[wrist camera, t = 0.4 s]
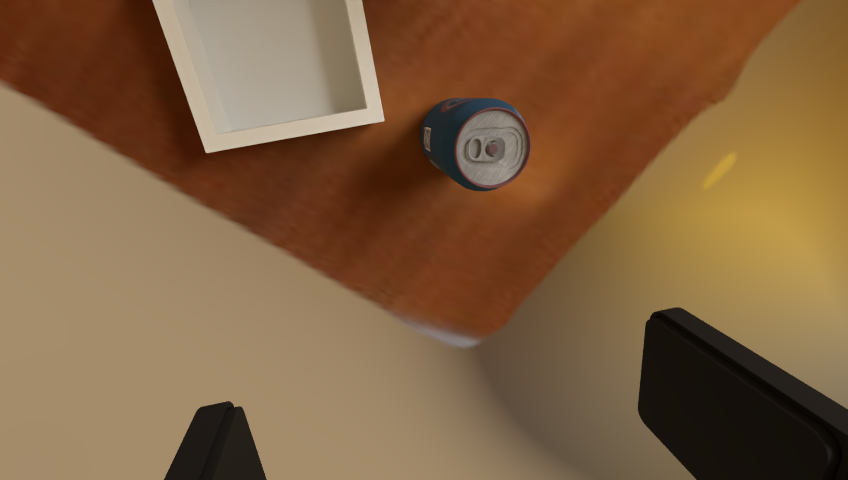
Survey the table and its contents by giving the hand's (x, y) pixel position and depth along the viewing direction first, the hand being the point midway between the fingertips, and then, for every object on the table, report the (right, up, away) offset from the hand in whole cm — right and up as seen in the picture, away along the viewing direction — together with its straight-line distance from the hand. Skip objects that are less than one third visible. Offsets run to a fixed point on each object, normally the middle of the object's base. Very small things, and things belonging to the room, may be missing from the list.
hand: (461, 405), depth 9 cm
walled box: (-13, +20, +26) cm, 35 cm away
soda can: (+2, +14, +31) cm, 34 cm away
